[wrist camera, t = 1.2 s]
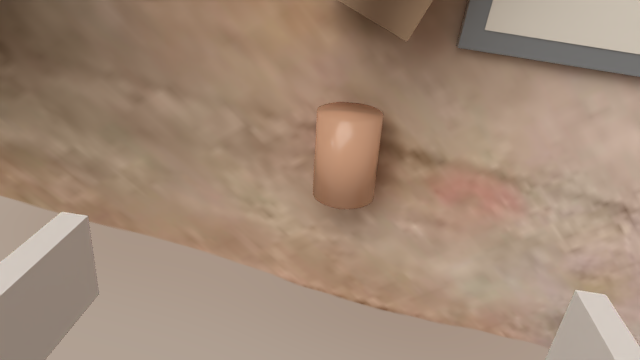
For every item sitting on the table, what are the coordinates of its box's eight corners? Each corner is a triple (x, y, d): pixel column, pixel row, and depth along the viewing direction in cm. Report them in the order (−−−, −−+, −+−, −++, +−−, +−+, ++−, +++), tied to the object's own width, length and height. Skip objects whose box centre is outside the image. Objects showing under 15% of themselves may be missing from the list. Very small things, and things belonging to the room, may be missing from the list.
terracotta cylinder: (326, 99, 38) (321, 176, 42) (309, 117, 34) (305, 202, 37) (387, 107, 37) (378, 185, 40) (377, 127, 33) (367, 213, 36)
